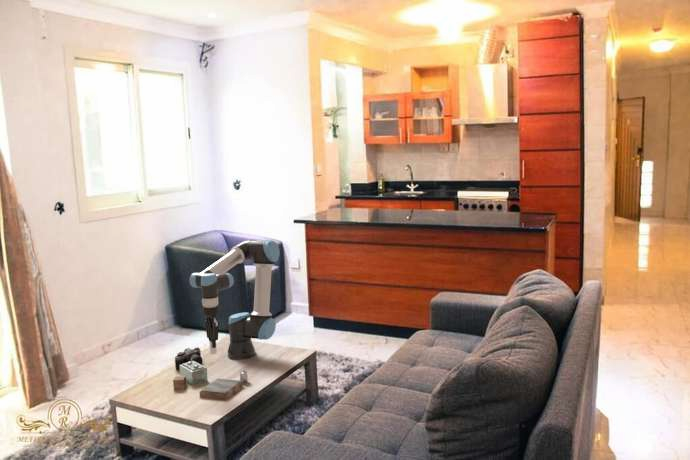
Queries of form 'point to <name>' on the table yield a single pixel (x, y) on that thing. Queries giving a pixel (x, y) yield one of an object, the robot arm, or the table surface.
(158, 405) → the table surface
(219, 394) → the grey brown flat block
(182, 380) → the walnut block
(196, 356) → the camera
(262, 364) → the table surface
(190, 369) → the housing
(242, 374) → the steel cup
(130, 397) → the table surface
